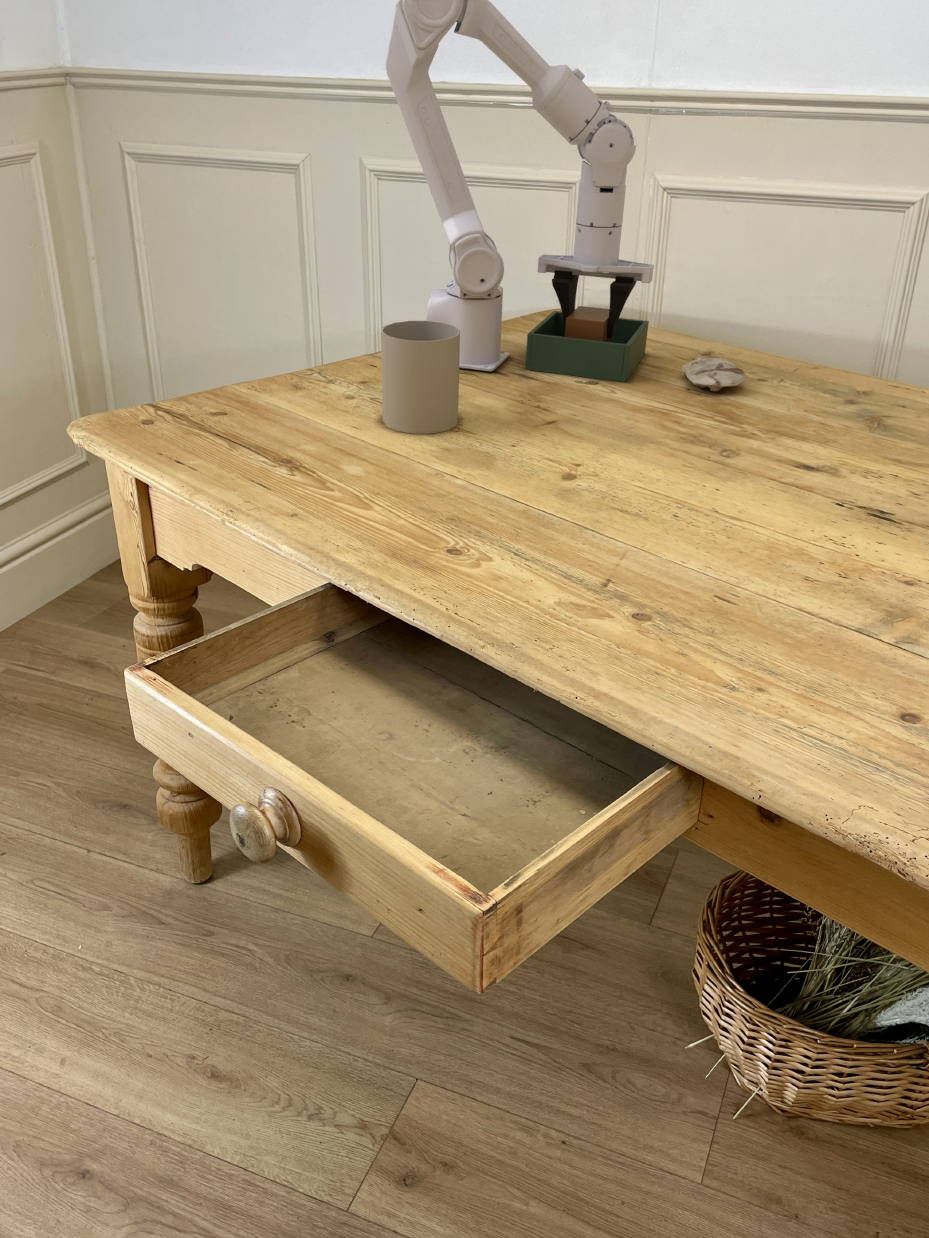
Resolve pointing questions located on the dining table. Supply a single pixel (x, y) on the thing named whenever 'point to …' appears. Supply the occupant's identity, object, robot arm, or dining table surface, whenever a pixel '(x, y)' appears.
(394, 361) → the cup
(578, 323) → the block
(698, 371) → the stone
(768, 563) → the dining table surface
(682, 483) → the dining table surface
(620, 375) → the bin
